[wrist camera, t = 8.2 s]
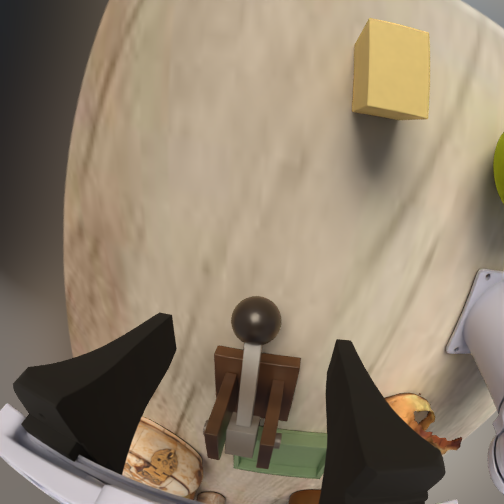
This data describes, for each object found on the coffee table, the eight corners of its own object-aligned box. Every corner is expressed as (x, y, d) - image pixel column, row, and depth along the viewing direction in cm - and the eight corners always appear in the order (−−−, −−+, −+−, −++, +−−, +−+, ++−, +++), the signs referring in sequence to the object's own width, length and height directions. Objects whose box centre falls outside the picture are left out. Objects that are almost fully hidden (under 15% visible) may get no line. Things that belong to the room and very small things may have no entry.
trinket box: (206, 472, 37) (193, 512, 30) (120, 440, 39) (101, 475, 32) (211, 436, 31) (193, 488, 24) (104, 396, 33) (76, 438, 26)
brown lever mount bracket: (217, 345, 25) (187, 416, 18) (300, 357, 24) (292, 435, 17) (219, 401, 28) (197, 463, 21) (288, 412, 27) (278, 478, 20)
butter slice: (401, 53, 13) (429, 32, 9) (398, 120, 15) (428, 119, 11) (354, 43, 14) (368, 17, 9) (351, 111, 16) (366, 106, 11)
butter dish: (338, 434, 27) (338, 448, 26) (320, 466, 31) (319, 479, 29) (237, 422, 29) (233, 436, 27) (236, 456, 33) (233, 468, 31)
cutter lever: (239, 288, 21) (228, 300, 18) (285, 294, 20) (282, 308, 17) (226, 431, 22) (216, 455, 19) (263, 438, 22) (257, 463, 19)
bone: (460, 387, 22) (482, 452, 15) (417, 439, 26) (425, 496, 19) (357, 381, 24) (362, 461, 16) (325, 436, 28) (321, 500, 20)
